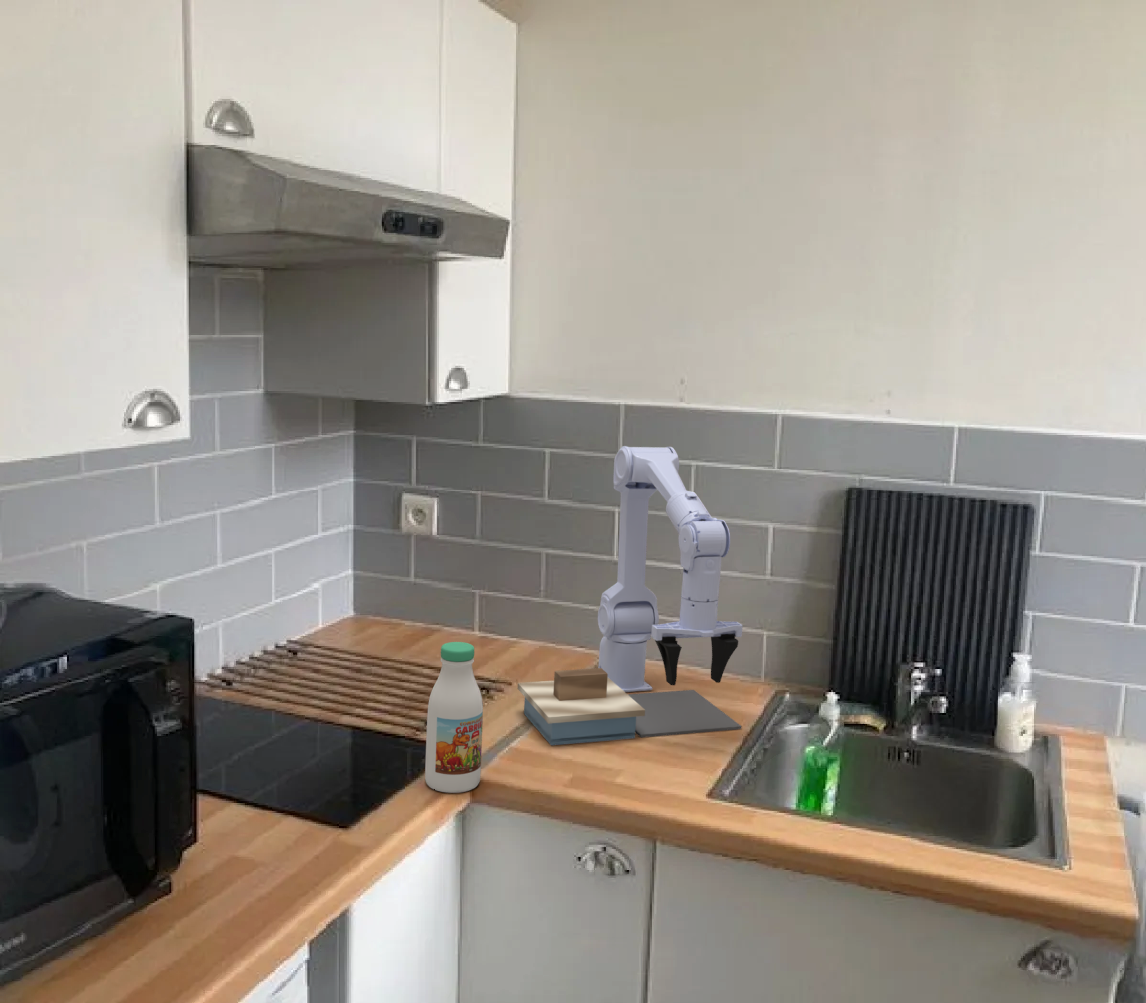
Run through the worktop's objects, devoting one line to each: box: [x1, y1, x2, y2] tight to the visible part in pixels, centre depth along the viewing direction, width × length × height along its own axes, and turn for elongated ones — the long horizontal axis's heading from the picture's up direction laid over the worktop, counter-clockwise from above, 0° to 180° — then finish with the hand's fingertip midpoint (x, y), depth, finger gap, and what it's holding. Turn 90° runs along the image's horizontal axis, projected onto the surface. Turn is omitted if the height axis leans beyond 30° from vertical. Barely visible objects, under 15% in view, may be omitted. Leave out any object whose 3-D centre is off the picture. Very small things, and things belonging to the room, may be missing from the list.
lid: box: [517, 667, 645, 724], centre depth 182 cm, size 16×16×5 cm
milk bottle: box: [424, 641, 484, 794], centre depth 157 cm, size 8×8×20 cm
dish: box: [523, 697, 636, 746], centre depth 183 cm, size 14×14×4 cm
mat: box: [627, 689, 742, 739], centre depth 191 cm, size 18×18×1 cm
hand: (693, 681), depth 176 cm, fingers open, 7 cm apart
